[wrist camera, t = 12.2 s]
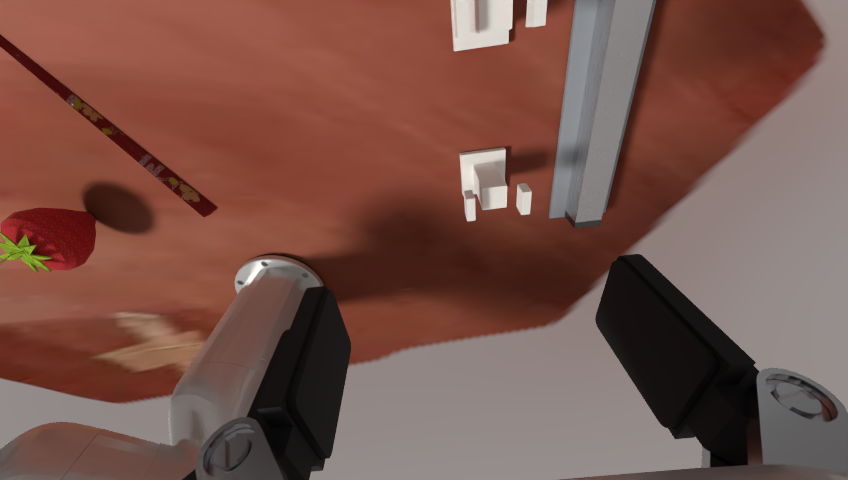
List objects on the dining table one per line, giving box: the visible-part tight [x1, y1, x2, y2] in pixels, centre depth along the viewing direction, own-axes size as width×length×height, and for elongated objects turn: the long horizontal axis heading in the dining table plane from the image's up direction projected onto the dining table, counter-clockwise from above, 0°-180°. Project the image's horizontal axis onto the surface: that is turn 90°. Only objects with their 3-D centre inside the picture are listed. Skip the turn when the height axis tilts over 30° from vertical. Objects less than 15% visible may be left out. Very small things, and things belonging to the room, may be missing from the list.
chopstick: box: [0, 36, 215, 217], centre depth 33 cm, size 2×24×1 cm, turn 35°
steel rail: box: [565, 0, 653, 228], centre depth 31 cm, size 26×3×3 cm, turn 7°
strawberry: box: [0, 208, 96, 272], centre depth 35 cm, size 6×8×10 cm
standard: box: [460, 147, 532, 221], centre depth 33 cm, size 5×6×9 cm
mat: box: [549, 0, 656, 218], centre depth 32 cm, size 26×7×1 cm, turn 7°
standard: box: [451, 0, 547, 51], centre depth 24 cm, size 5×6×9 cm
